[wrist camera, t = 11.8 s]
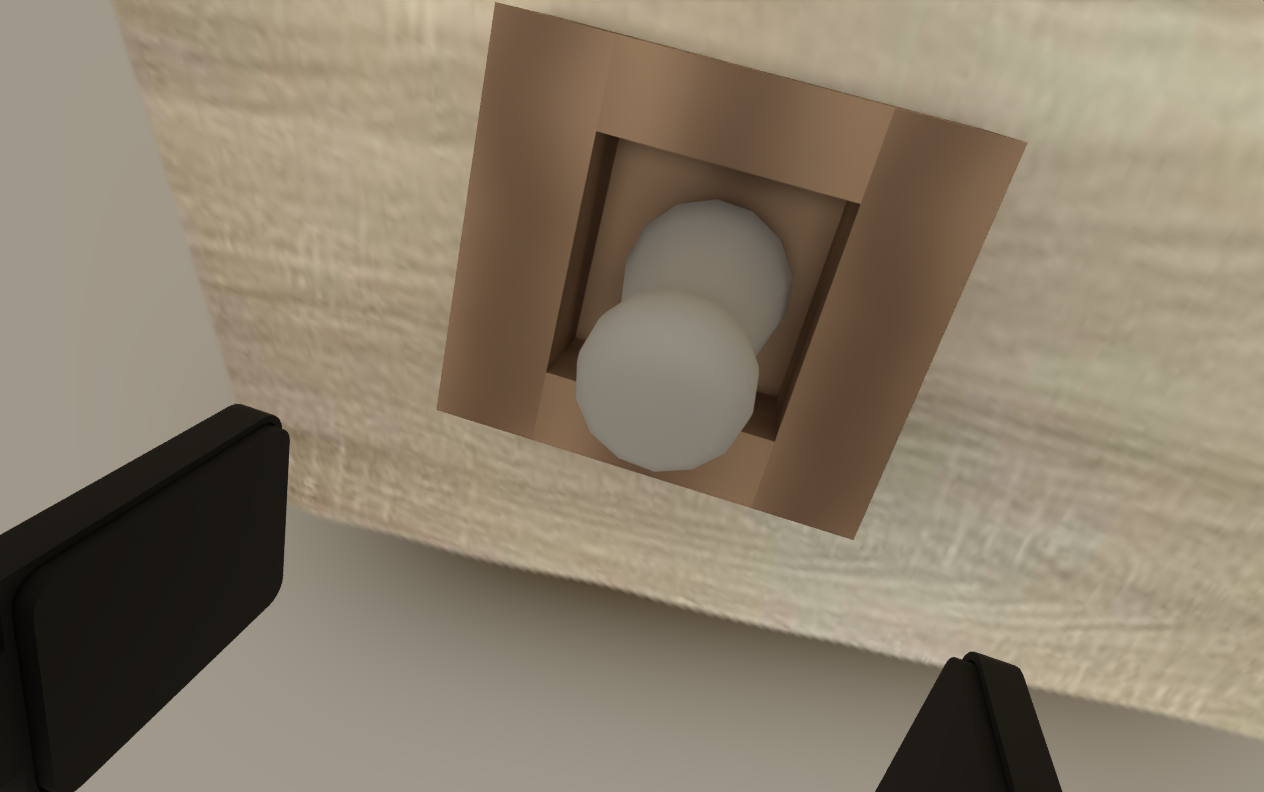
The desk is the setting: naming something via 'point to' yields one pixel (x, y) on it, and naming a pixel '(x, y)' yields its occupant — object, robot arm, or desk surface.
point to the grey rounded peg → (684, 337)
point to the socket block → (737, 174)
